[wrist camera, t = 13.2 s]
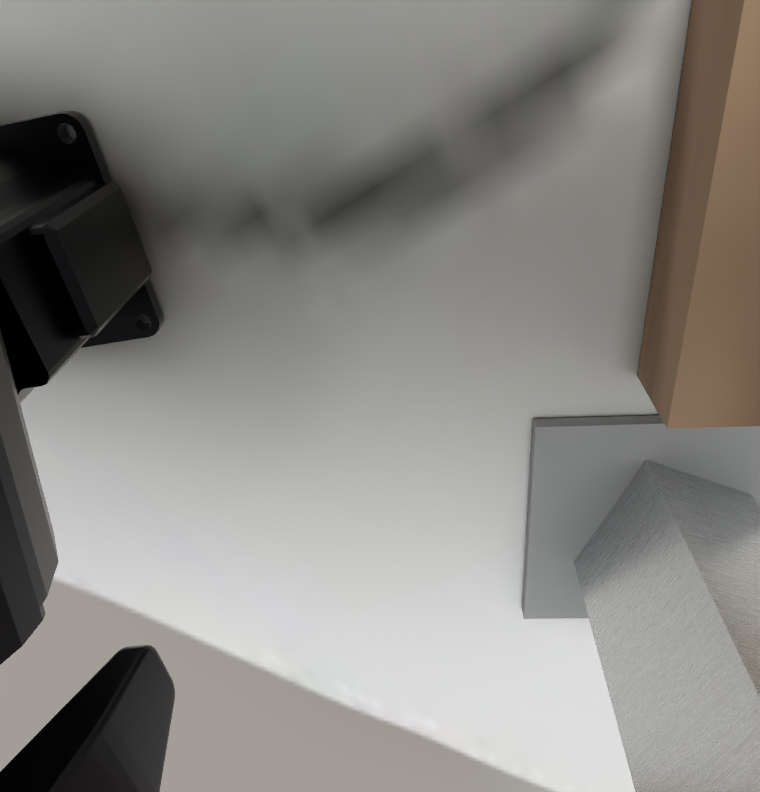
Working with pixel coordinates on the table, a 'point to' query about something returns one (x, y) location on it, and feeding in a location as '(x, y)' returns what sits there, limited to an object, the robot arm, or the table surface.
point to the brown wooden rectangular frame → (710, 232)
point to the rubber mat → (609, 488)
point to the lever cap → (680, 629)
